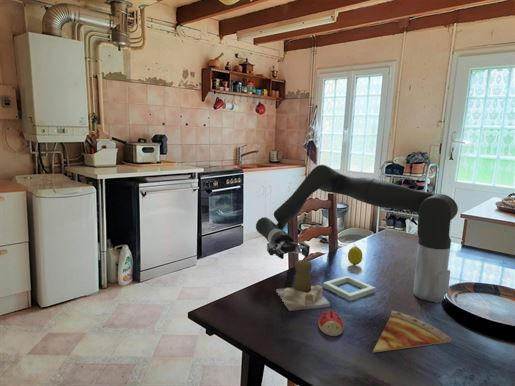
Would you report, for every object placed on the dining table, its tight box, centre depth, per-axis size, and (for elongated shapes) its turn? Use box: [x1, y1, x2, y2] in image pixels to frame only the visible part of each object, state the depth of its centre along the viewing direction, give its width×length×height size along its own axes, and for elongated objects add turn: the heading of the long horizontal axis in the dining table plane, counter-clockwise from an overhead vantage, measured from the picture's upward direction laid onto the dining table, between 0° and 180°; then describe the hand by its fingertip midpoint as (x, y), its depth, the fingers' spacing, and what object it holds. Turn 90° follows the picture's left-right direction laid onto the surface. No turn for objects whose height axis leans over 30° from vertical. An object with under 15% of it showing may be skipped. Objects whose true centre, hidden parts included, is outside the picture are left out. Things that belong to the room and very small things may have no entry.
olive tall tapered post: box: [293, 259, 313, 293], centre depth 113 cm, size 6×6×11 cm
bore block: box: [322, 275, 376, 302], centre depth 121 cm, size 12×12×2 cm
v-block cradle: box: [275, 284, 331, 312], centre depth 113 cm, size 13×13×4 cm
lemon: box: [347, 245, 363, 266], centre depth 142 cm, size 6×6×8 cm
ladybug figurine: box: [317, 309, 345, 337], centre depth 97 cm, size 7×10×4 cm
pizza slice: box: [372, 309, 452, 353], centre depth 97 cm, size 16×22×2 cm
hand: (295, 255), depth 119 cm, fingers open, 8 cm apart
